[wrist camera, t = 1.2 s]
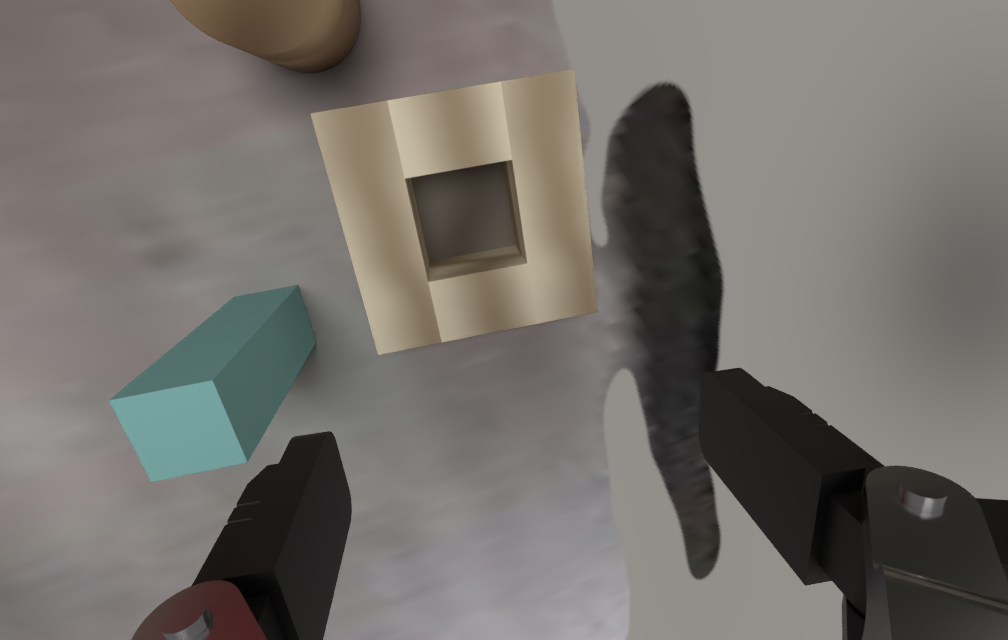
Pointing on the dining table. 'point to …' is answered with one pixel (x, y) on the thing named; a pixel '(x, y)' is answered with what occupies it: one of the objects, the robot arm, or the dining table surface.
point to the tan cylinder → (280, 28)
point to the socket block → (463, 208)
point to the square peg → (217, 386)
